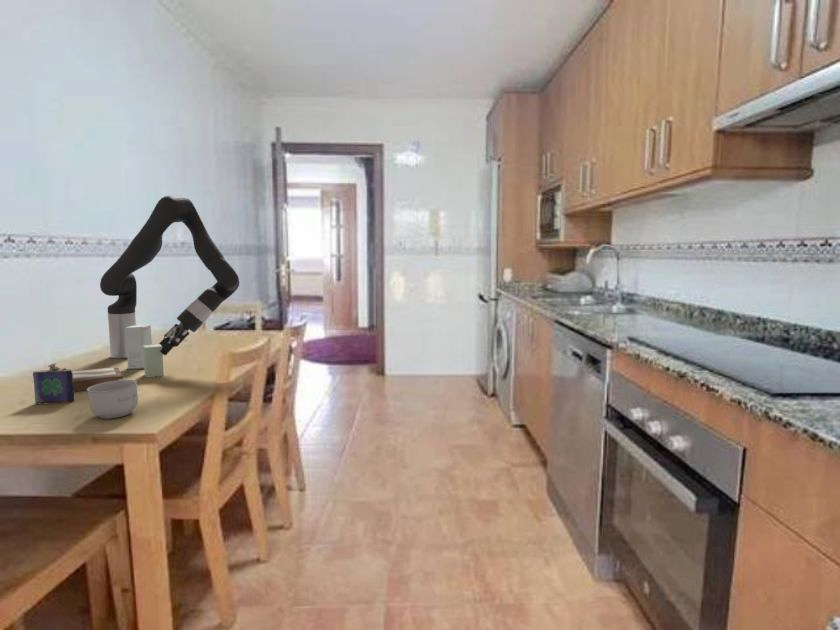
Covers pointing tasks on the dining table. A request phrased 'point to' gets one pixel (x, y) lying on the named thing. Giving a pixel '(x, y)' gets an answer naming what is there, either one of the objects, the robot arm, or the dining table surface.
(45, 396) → the flask
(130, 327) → the skincare box
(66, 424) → the dining table surface
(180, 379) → the dining table surface
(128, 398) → the teacup
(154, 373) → the green block
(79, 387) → the base block
